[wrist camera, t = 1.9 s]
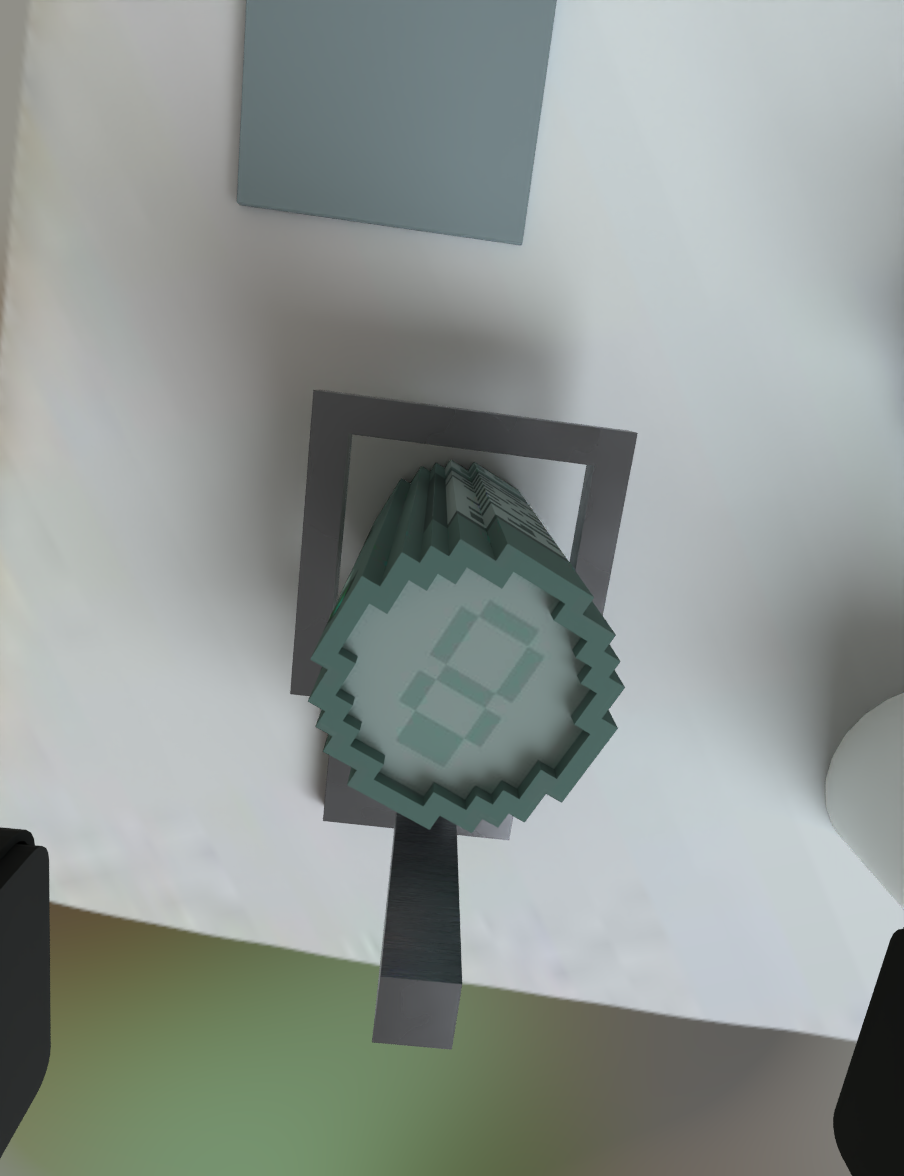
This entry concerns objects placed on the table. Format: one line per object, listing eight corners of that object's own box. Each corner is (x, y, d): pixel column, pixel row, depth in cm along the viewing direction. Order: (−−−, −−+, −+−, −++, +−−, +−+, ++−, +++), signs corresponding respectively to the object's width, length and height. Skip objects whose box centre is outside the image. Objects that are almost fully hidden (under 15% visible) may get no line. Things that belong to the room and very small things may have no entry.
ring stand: (333, 388, 28) (233, 395, 14) (606, 424, 28) (757, 464, 15) (299, 804, 32) (198, 1105, 19) (533, 829, 33) (598, 1139, 20)
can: (348, 564, 30) (260, 738, 15) (429, 433, 28) (417, 486, 14) (476, 640, 31) (509, 872, 16) (560, 517, 29) (676, 649, 15)
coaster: (256, -141, 24) (253, -150, 23) (568, -90, 24) (570, -97, 24) (240, 204, 26) (236, 202, 26) (521, 245, 27) (522, 243, 26)
